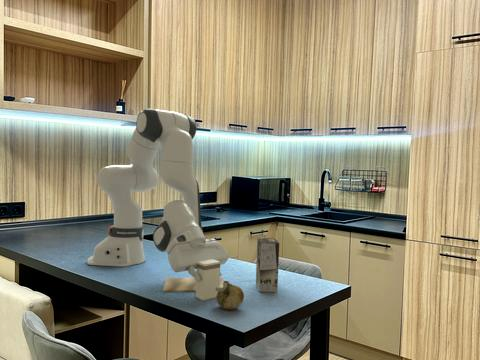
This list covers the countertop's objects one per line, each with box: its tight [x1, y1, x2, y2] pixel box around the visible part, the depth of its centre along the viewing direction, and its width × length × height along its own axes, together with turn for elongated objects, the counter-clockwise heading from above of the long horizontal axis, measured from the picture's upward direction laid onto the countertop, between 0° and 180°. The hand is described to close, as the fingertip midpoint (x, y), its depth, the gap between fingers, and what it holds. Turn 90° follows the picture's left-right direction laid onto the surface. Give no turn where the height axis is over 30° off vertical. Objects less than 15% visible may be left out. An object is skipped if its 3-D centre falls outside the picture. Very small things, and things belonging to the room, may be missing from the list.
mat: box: [162, 277, 225, 293], centre depth 144 cm, size 20×14×1 cm
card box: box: [195, 259, 221, 301], centre depth 132 cm, size 4×6×11 cm
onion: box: [215, 280, 245, 310], centre depth 123 cm, size 8×8×8 cm
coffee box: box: [255, 237, 280, 293], centre depth 143 cm, size 9×6×16 cm
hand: (209, 278), depth 132 cm, fingers closed on card box, 6 cm apart
